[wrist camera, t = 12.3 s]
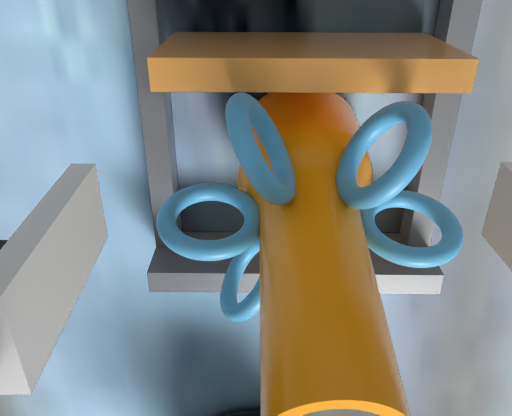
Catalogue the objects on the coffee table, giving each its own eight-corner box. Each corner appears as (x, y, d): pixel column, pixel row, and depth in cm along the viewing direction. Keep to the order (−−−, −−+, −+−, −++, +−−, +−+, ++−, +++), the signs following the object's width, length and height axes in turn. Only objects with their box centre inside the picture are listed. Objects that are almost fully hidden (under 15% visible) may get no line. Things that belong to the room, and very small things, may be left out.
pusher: (176, 58, 22) (150, 91, 17) (174, 31, 22) (147, 57, 16) (421, 59, 22) (471, 93, 17) (426, 32, 22) (478, 59, 16)
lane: (163, 248, 28) (135, 333, 22) (123, -113, 19) (59, -142, 13) (417, 250, 28) (461, 335, 22) (489, -112, 19) (596, -141, 13)
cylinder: (450, 38, 21) (689, 325, 9) (394, 215, 27) (491, 508, 16) (170, 25, 20) (57, 306, 9) (184, 208, 27) (129, 501, 16)
